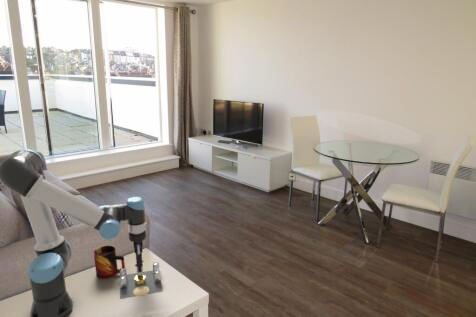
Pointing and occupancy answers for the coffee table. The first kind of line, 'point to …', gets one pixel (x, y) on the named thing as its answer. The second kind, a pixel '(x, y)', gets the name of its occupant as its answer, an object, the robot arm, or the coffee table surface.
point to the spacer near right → (157, 276)
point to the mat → (140, 286)
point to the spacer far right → (155, 266)
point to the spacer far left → (123, 272)
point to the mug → (107, 262)
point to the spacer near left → (123, 282)
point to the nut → (140, 280)
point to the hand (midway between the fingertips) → (140, 276)
